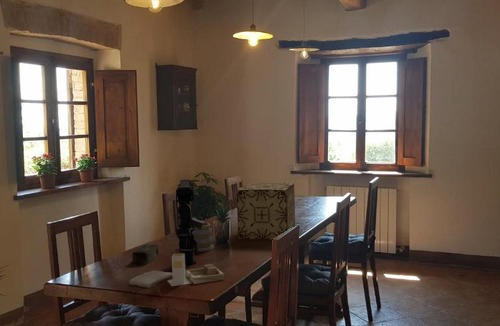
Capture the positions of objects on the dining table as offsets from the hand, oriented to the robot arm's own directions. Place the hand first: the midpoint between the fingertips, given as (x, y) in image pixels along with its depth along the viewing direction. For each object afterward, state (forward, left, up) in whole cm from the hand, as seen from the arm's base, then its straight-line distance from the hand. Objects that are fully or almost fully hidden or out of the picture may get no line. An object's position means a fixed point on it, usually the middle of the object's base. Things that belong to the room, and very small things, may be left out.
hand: (186, 246), depth 239 cm
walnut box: (+9, +9, -12) cm, 17 cm away
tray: (+11, +5, -13) cm, 18 cm away
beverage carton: (-35, -13, -14) cm, 40 cm away
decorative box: (-58, +67, -13) cm, 90 cm away
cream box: (+12, -7, -12) cm, 18 cm away
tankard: (-46, +19, -13) cm, 52 cm away
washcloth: (+3, -17, -14) cm, 22 cm away
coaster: (+12, -7, -13) cm, 19 cm away
